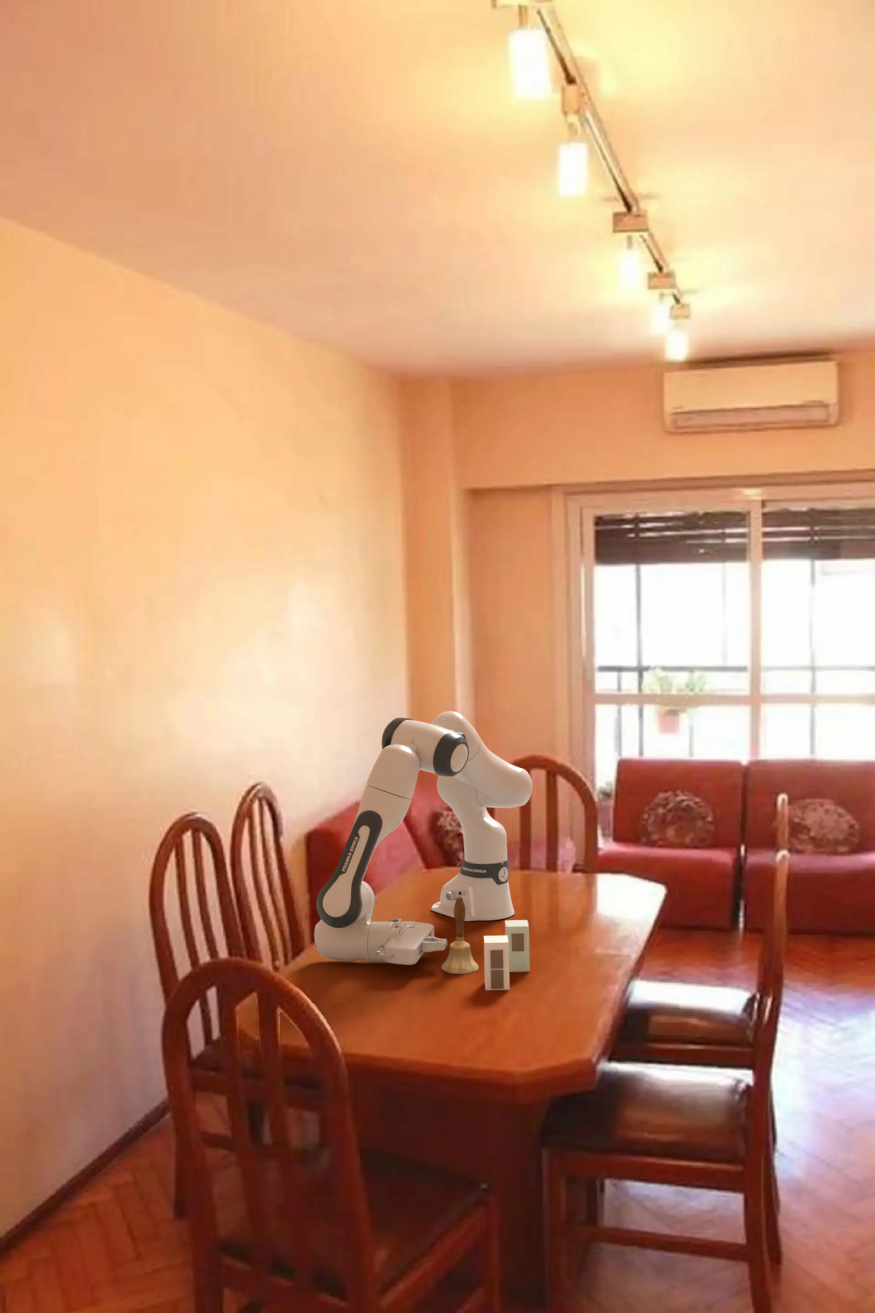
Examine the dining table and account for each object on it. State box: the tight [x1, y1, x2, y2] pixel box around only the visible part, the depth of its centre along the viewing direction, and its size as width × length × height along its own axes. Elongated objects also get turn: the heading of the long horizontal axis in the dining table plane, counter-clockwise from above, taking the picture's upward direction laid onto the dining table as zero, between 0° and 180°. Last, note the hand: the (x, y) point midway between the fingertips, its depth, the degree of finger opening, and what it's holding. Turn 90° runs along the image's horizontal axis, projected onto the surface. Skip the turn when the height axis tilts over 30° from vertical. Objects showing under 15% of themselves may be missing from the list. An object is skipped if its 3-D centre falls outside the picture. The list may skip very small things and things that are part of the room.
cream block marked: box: [483, 934, 511, 991], centre depth 240 cm, size 5×5×10 cm
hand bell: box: [441, 897, 480, 975], centre depth 252 cm, size 8×8×16 cm
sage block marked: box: [504, 919, 531, 973], centre depth 251 cm, size 5×5×10 cm
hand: (445, 944), depth 253 cm, fingers closed
